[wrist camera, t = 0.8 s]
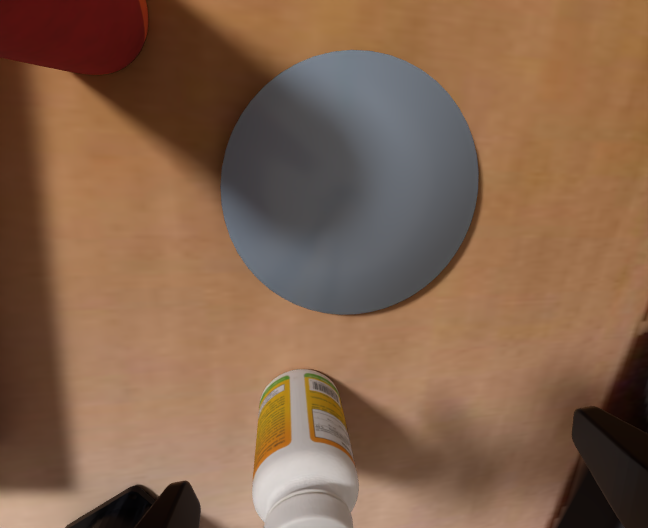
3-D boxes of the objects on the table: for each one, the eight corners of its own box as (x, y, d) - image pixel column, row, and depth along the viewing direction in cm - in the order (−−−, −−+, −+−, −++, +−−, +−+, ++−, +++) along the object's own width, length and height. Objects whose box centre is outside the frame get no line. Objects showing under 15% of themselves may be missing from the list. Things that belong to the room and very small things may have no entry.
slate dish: (313, 346, 24) (314, 355, 23) (168, 154, 19) (162, 155, 18) (506, 228, 22) (515, 232, 21) (399, -6, 18) (405, -14, 17)
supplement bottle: (264, 437, 26) (254, 603, 16) (255, 371, 24) (237, 515, 15) (341, 427, 26) (373, 584, 17) (337, 362, 24) (370, 496, 15)
